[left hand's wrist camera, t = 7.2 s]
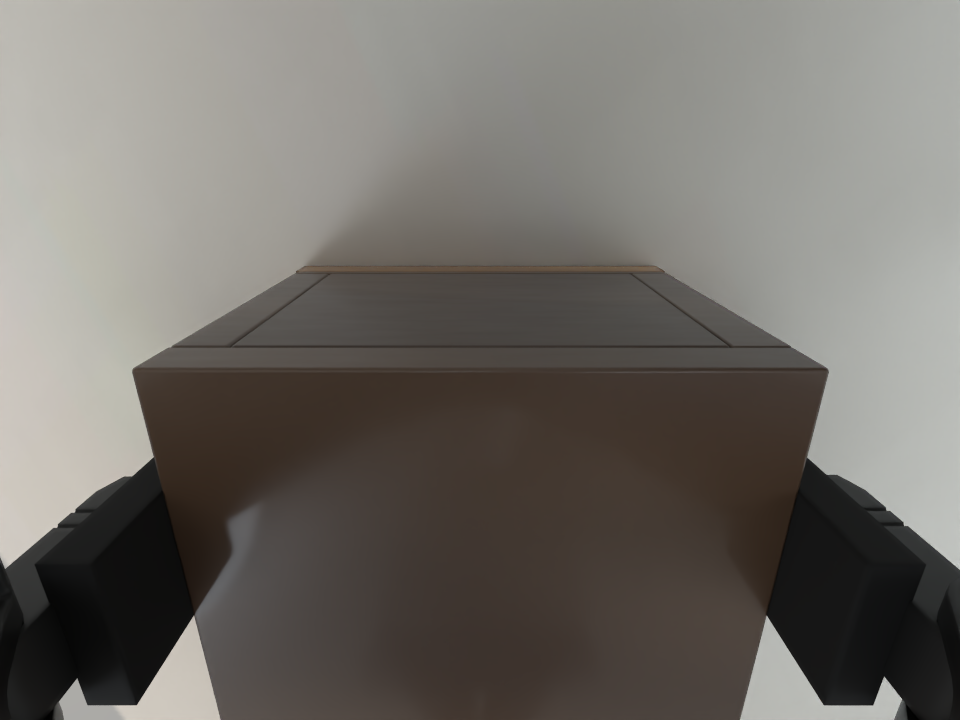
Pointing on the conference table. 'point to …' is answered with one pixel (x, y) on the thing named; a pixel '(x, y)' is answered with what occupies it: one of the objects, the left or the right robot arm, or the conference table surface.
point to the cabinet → (480, 493)
